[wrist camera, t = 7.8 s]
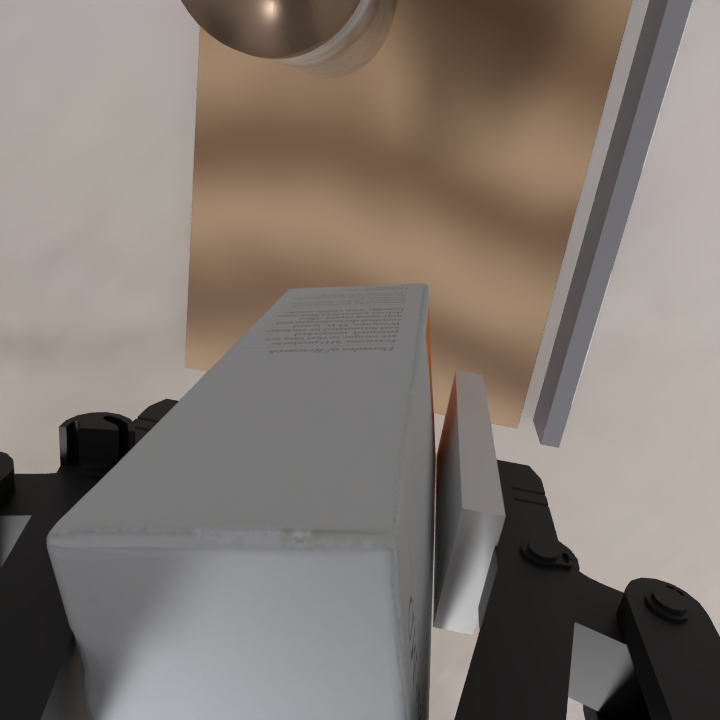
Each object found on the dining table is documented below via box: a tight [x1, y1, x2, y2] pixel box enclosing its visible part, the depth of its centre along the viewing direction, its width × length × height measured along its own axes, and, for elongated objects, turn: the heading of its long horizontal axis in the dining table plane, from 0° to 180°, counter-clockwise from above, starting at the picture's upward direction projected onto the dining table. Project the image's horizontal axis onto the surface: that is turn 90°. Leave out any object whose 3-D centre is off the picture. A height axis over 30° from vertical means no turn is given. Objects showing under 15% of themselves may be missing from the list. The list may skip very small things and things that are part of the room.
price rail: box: [533, 0, 694, 448], centre depth 25 cm, size 20×1×2 cm, turn 172°
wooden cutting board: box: [185, 0, 632, 428], centre depth 26 cm, size 20×16×1 cm
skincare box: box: [47, 283, 436, 720], centre depth 13 cm, size 6×4×12 cm
